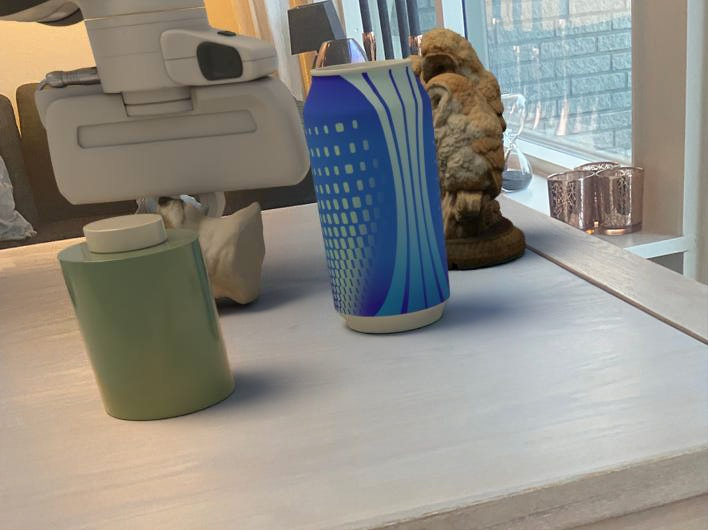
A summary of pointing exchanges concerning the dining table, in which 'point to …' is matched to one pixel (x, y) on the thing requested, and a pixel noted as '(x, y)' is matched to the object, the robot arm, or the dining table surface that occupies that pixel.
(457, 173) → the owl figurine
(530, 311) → the dining table surface
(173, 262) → the green lidded jar
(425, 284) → the beer can
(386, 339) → the dining table surface
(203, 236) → the ceramic sculpture
